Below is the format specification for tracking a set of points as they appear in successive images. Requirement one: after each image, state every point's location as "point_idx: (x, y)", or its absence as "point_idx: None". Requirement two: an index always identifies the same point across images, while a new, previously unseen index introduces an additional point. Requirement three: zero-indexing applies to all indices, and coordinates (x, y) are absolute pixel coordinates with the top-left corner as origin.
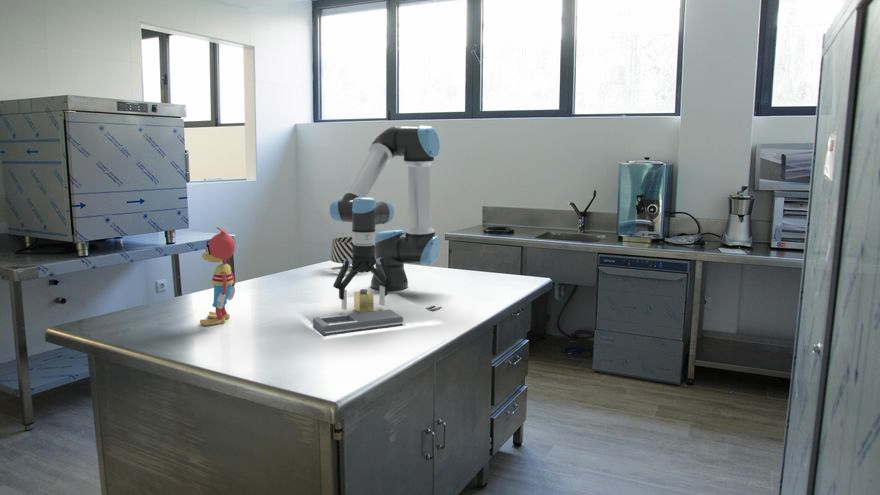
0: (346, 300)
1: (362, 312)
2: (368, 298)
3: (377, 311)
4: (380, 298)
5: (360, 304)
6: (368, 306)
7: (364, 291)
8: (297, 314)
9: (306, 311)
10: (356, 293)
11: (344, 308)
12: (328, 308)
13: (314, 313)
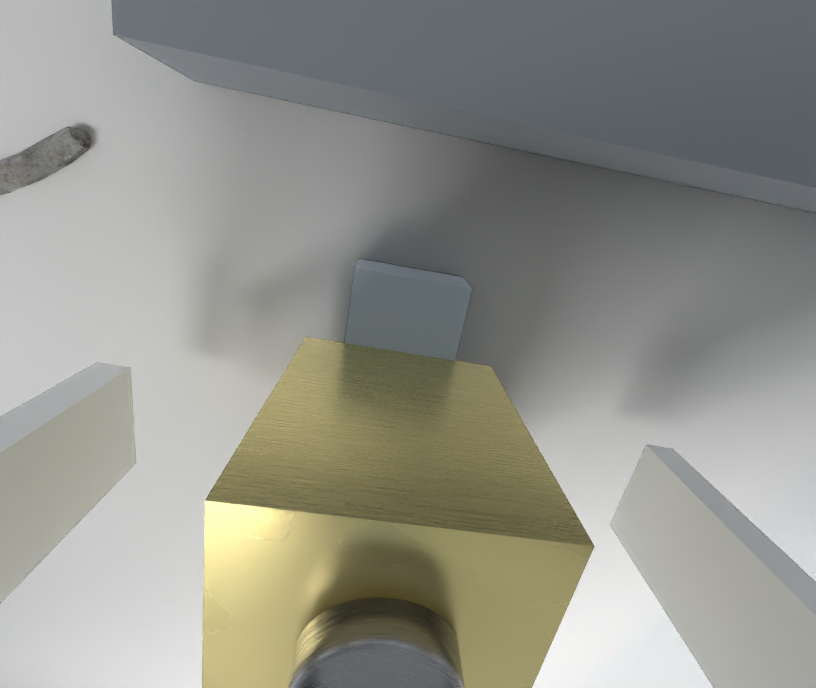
0: (740, 541)
1: (455, 357)
2: (364, 447)
3: (391, 47)
4: (65, 499)
5: (504, 418)
6: (370, 377)
7: (410, 656)
8: None
9: (688, 685)
10: (534, 677)
11: (683, 459)
12: None
13: None
